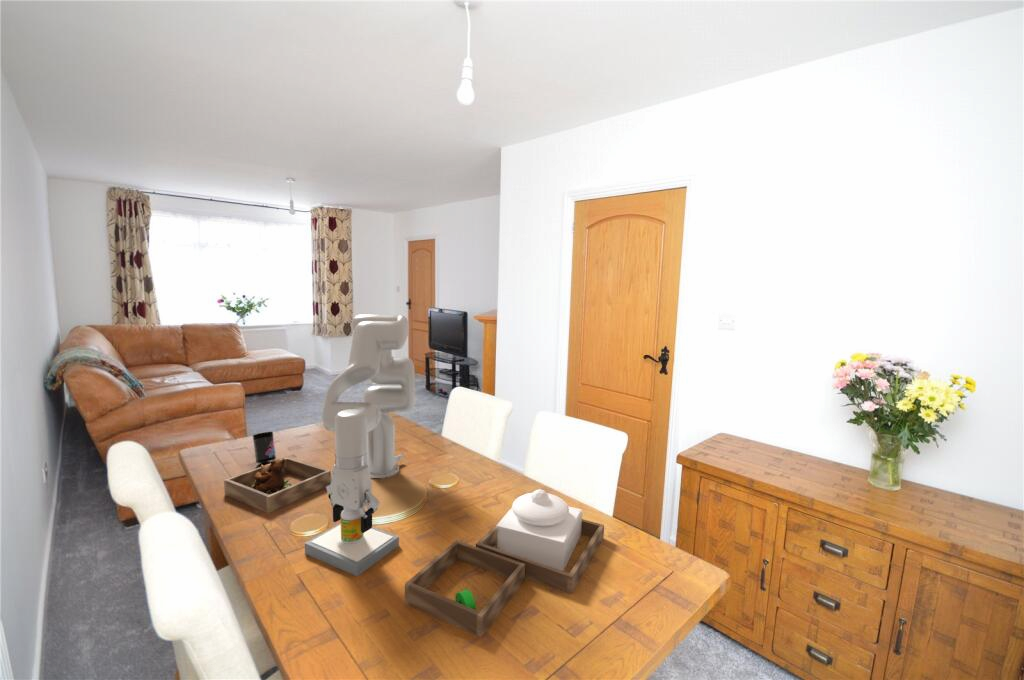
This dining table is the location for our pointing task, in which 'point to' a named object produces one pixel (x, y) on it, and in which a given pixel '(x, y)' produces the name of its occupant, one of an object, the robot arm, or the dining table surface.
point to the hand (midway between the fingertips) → (352, 524)
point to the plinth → (351, 549)
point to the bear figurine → (271, 478)
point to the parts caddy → (453, 610)
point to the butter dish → (540, 529)
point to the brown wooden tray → (269, 503)
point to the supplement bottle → (351, 526)
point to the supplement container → (264, 447)
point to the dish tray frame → (545, 572)
